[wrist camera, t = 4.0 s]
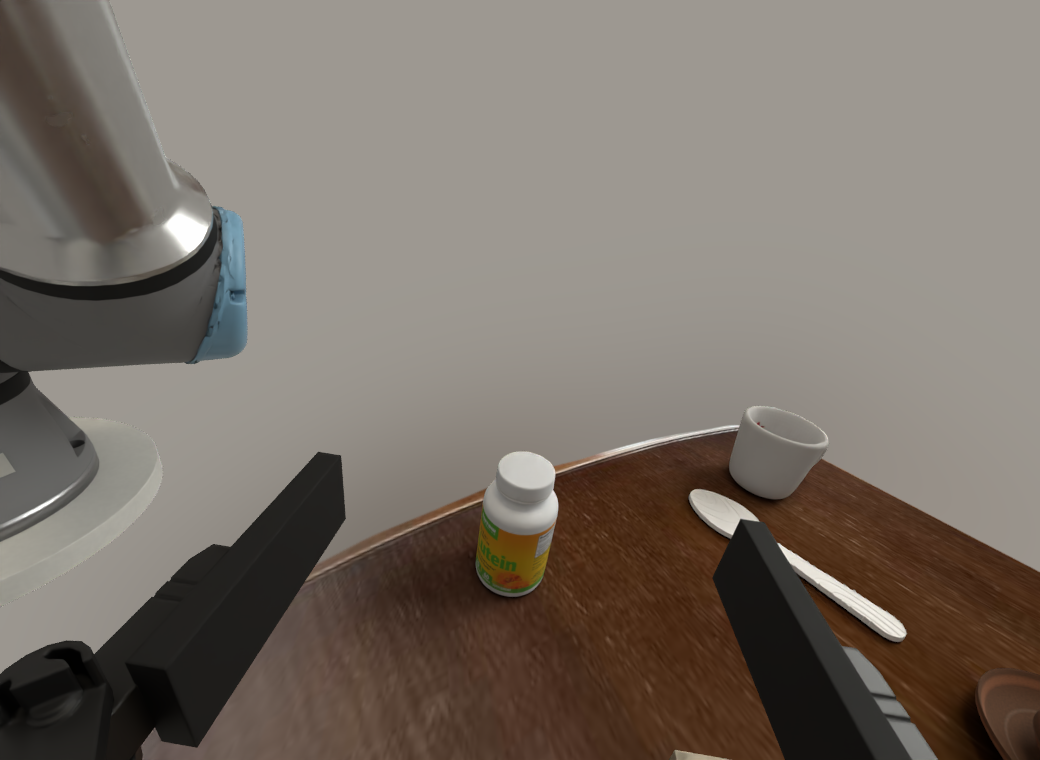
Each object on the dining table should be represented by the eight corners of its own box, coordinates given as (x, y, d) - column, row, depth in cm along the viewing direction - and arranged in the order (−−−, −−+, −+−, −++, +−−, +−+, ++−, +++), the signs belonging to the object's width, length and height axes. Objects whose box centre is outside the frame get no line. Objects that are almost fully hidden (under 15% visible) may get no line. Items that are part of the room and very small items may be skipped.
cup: (778, 460, 52) (805, 405, 48) (833, 505, 45) (870, 445, 41) (705, 462, 49) (728, 404, 45) (752, 511, 42) (784, 447, 38)
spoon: (894, 659, 29) (898, 655, 29) (676, 502, 41) (678, 498, 41) (911, 620, 32) (915, 616, 32) (704, 485, 45) (706, 481, 44)
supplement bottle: (460, 571, 31) (470, 469, 27) (502, 530, 35) (516, 436, 31) (518, 614, 29) (539, 509, 24) (555, 564, 33) (579, 467, 29)
